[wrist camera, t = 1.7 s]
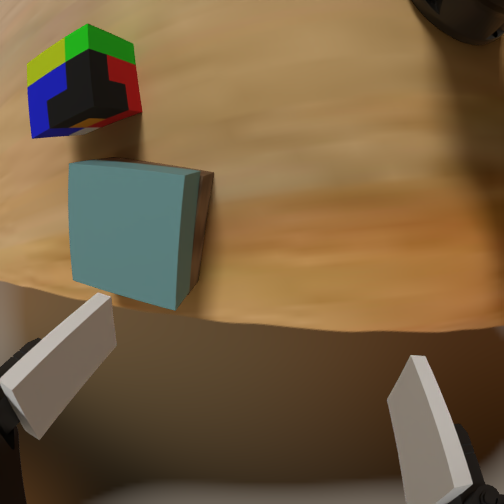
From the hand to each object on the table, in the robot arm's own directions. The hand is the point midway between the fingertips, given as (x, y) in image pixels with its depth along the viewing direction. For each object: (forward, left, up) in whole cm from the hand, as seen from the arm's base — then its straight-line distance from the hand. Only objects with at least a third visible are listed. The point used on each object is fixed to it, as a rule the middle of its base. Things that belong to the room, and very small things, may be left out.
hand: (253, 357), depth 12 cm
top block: (+3, -16, -20) cm, 26 cm away
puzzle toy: (-12, -26, -25) cm, 38 cm away
